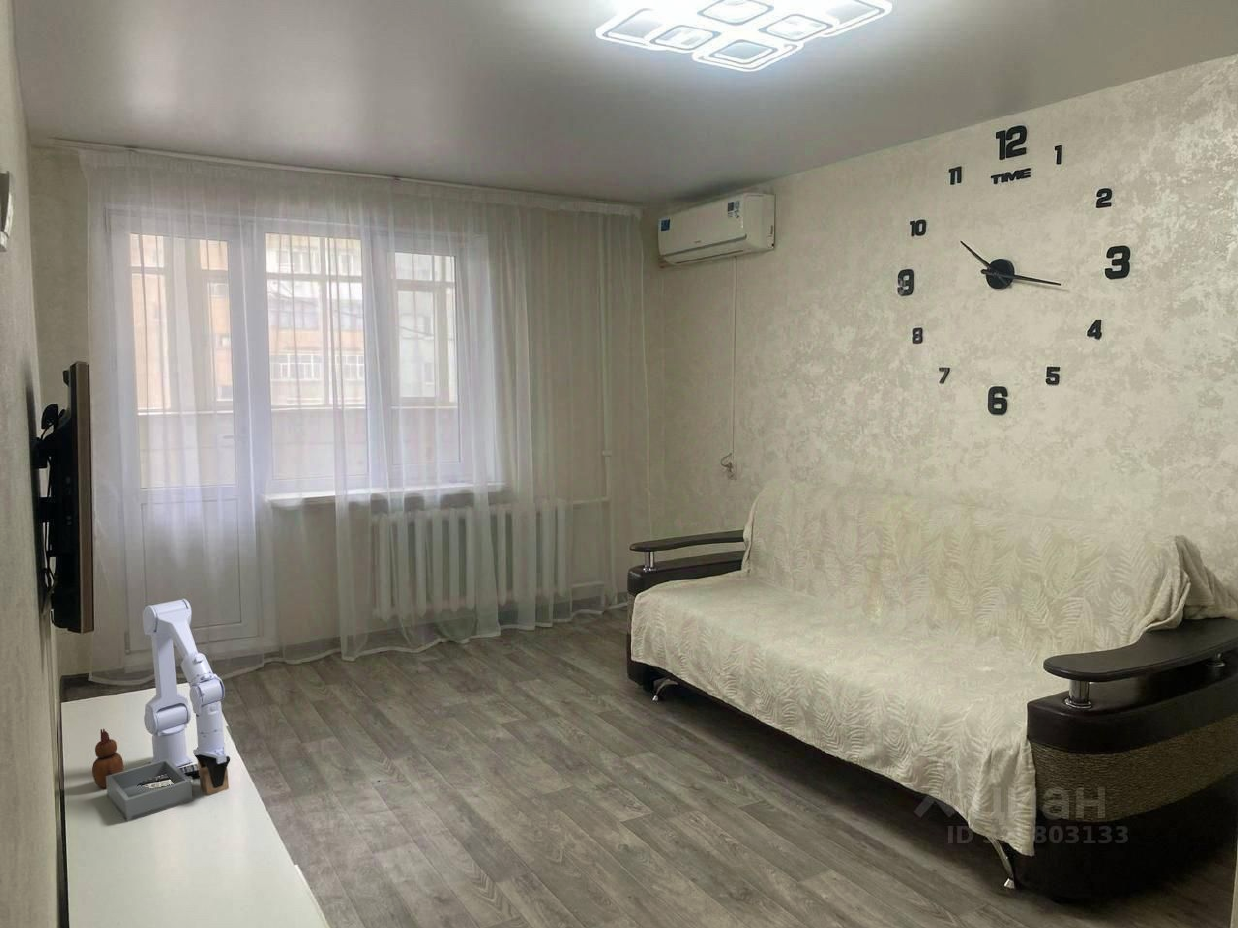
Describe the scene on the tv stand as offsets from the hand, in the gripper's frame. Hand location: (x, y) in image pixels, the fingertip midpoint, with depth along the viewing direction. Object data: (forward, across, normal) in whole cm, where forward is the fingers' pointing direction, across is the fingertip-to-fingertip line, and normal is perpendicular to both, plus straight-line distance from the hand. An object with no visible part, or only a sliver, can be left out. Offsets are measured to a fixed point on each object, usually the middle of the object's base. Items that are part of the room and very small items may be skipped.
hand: (214, 782), depth 217 cm
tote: (+1, -6, -13) cm, 14 cm away
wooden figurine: (+2, -22, -18) cm, 28 cm away
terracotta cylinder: (+2, -10, +2) cm, 10 cm away
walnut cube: (+1, 0, 0) cm, 1 cm away
